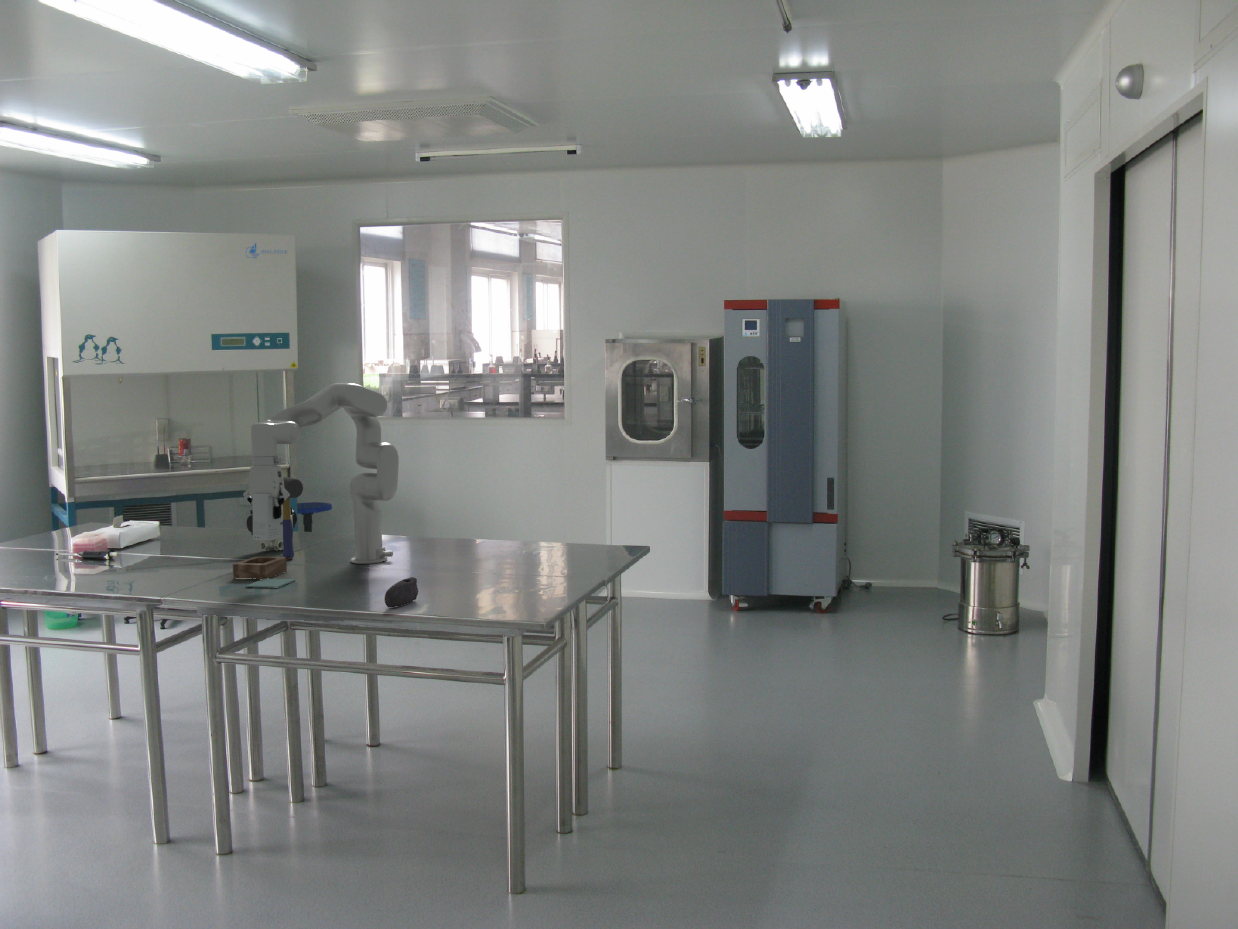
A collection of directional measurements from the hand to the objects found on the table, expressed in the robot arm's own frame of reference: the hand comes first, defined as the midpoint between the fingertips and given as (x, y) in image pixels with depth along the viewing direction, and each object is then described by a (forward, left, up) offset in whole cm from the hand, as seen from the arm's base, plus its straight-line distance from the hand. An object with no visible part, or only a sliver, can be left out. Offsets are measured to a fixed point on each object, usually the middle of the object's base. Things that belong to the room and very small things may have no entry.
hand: (267, 517), depth 315 cm
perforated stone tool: (-53, +22, -22) cm, 61 cm away
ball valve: (+31, -58, -22) cm, 69 cm away
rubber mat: (0, 0, -21) cm, 21 cm away
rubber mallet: (+16, -41, -22) cm, 49 cm away
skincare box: (0, 0, -7) cm, 7 cm away
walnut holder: (+11, -13, -21) cm, 27 cm away
